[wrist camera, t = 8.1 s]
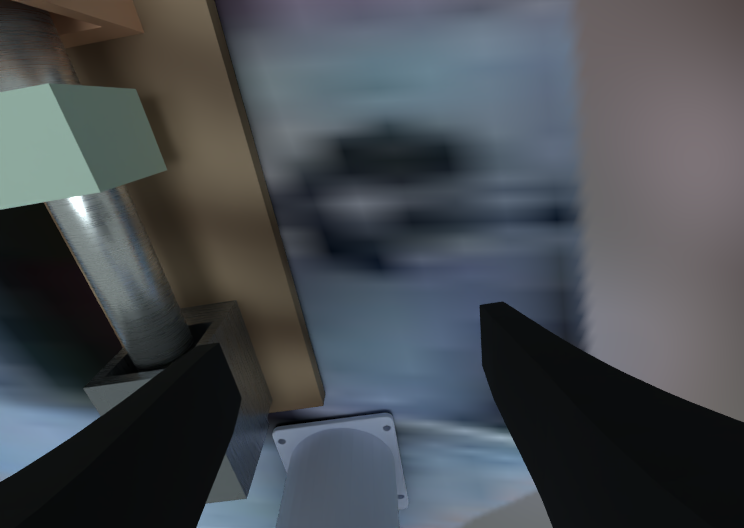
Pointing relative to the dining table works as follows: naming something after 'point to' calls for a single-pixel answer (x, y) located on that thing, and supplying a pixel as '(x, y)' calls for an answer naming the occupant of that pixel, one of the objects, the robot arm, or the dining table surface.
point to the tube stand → (200, 210)
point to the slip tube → (86, 179)
